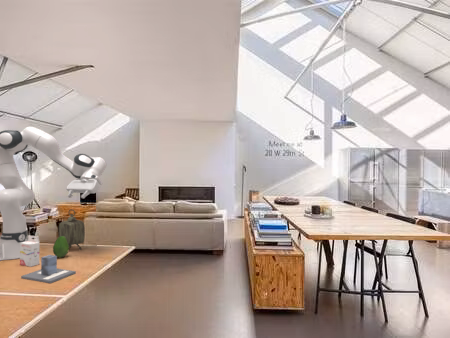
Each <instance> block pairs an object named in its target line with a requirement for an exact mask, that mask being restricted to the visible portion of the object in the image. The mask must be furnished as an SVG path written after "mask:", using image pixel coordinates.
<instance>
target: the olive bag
mask: <svg viewBox="0 0 450 338" xmlns="http://www.w3.org/2000/svg"><path fill="white" fill-rule="evenodd" d="M71 211H72V212H73V213H74V214H73V213H71V214H70V212H71ZM68 215H69V217H68V218H67V219H66V220H64V221H61V222H59V224H58V237H60V236H64V237H65V238H66V240H67V243H68V247H69V248H72V246H73V245H74V246H75V245H76V246H77V247H78V250H82V249H83V248H82V247H81V246H80V245H79V244H83V243H84V242H85V235H86V234H85V233H86V232H85V231H86V230H85V229H86V228H85V227H86V226H85V222H84V221H82V220H79V219H77V218H76V211H75V210H74V208H73V209H72V208H71V209H68Z"/></svg>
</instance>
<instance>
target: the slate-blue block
mask: <svg viewBox="0 0 450 338" xmlns="http://www.w3.org/2000/svg"><path fill="white" fill-rule="evenodd" d="M40 261H41V262H40V264H41V265H40V270H41V275H48V276H49V275H52V274H54V273H57V269H58V268H57V267H58V266H57V265H58V257H57V256H55V254H47V255H45V256H42V257H41V259H40Z"/></svg>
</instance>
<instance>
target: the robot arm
mask: <svg viewBox="0 0 450 338" xmlns="http://www.w3.org/2000/svg"><path fill="white" fill-rule="evenodd" d="M29 146H31V147H33V148H34V149H36V150H38V151H40V152H41V153H42V154H44V155H45V156H47V157H48V158H49V159H50V160H52V161H53V162H54V163H56V164H57V165H59V166H60V167H63V169H66V171H67V172H69V173H70V174H71V175H72V176H73V178H76V179H73V180H71V181H70V183H69V184H67V186H66V190H67V191H66V192H68V194H67V197H68V199H69V198H70V199H71V198H72V197H73V194H74V193H77V194H81V195H80V198H81V199H85V198H86V197H87V196H88V195H90V194H96V193H97V192H99V190H100V188H101V186H102V185H103V181H102V180H101V178H100V177H101V176H102V175H103V173H104V172H105V171H106V168H107V162H106V161H105V159H104V158H102V157H100V156H95V157H94V156H89V155H88V154H86V153H79V154H78V153H77V154H76V155H75V156H74V157H73V160H72V159H70V158H68V156H65V155H64V154H63V152H62V150H61V147H60V144H59V141H58V140H57V138H55V137H54V136H53V135H52V134H50V133H48V132H46V131H45V130H42V129H40V128H37V127H34V126H26V127H25V128H24V129H23V130H21V131H19V130H13V129H12V130H11V129H10V130H9V129H8V130H6V129H5V130H2V131H0V185H1V186H2V187H4V189H1V190H0V215H1V218H2V219H1V220H2V232H0V261H5V260H7V261H8V260H17V259H20V243H21V242H26V241H28V230H27V217H26V215H24V214H23V212H22V209H21V207H25V206H27V205H29V204H32V202H34V200H35V193H34V191H33V189H31V188H30V187H28V186H27V184H26V183H25V182H24V181H23V179H22V178H21V175H20V173H19V170H18V167H17V164H16V162H15V159H14V155H18V154H19V153H21V152H24V151H25V150H26V149H28V147H29Z"/></svg>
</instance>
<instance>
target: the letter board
mask: <svg viewBox="0 0 450 338" xmlns="http://www.w3.org/2000/svg"><path fill="white" fill-rule="evenodd" d="M76 272H77V271H76V270H70V269H63V268H57V273H54V274H52V275H49V276H48V275H41V269H38V270H35V271H32V272H29V273H25V274H24V275H20V279H23V280H30V281H35V282H40V283H47V284H53V283H56V282H58V281H60V280H62V279H66V278H67V277H70V276H73V275H75V274H76Z"/></svg>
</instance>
